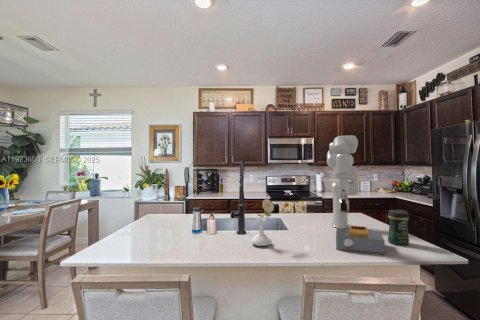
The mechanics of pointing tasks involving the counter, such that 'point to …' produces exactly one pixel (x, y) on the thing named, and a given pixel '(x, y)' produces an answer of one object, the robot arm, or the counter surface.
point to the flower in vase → (261, 237)
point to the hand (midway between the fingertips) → (344, 209)
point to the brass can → (340, 206)
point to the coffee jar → (398, 227)
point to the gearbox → (360, 240)
